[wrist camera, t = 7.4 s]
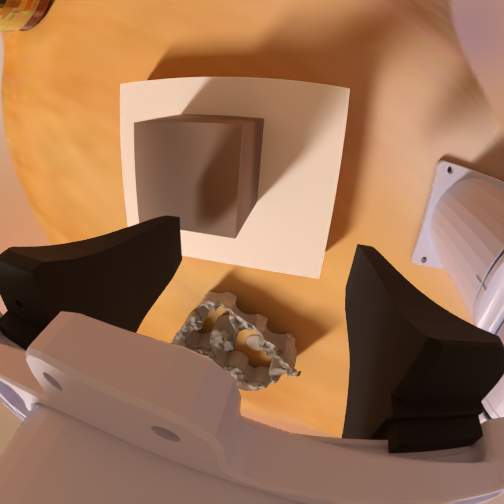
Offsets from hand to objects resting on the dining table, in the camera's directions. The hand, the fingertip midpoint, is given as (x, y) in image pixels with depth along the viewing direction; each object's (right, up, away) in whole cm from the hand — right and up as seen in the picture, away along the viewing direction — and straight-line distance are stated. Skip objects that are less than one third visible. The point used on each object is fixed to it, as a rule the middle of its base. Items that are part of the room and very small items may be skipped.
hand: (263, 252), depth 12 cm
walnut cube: (-2, +6, +5) cm, 8 cm away
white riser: (-2, +6, +8) cm, 10 cm away
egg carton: (-1, -8, +16) cm, 18 cm away
